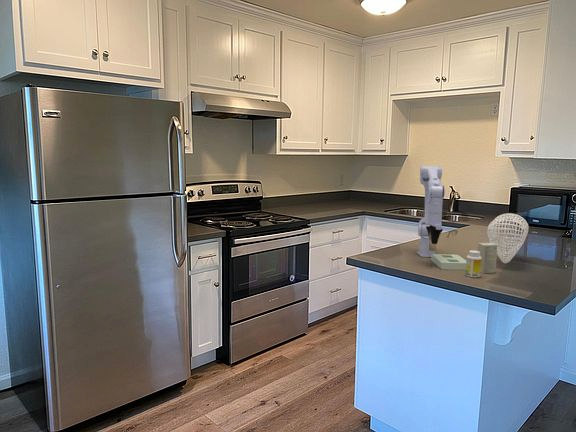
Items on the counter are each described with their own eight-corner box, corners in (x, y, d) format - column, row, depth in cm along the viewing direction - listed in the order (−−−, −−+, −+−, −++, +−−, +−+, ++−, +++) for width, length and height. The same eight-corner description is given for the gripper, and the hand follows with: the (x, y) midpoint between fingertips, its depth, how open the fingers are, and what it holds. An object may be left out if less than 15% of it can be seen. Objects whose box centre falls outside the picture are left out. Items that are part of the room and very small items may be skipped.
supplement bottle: (482, 275, 175) (484, 251, 174) (477, 278, 171) (479, 253, 170) (468, 273, 179) (470, 249, 177) (463, 275, 175) (465, 251, 173)
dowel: (428, 249, 193) (429, 229, 192) (435, 249, 192) (436, 229, 191) (429, 250, 190) (430, 230, 189) (436, 250, 190) (437, 230, 188)
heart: (490, 255, 212) (494, 210, 209) (526, 259, 204) (530, 213, 201) (482, 267, 189) (486, 217, 186) (522, 272, 181) (526, 220, 177)
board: (431, 260, 200) (431, 254, 200) (457, 260, 200) (457, 254, 199) (441, 269, 184) (441, 262, 184) (469, 270, 184) (470, 263, 183)
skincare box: (490, 270, 184) (492, 242, 182) (495, 273, 179) (498, 244, 178) (476, 270, 183) (478, 242, 182) (481, 273, 179) (483, 244, 177)
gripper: (421, 210, 196) (420, 239, 198) (430, 214, 182) (428, 246, 184) (437, 210, 196) (435, 240, 198) (446, 215, 181) (445, 246, 183)
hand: (433, 243), depth 191 cm, fingers closed on dowel, 3 cm apart
